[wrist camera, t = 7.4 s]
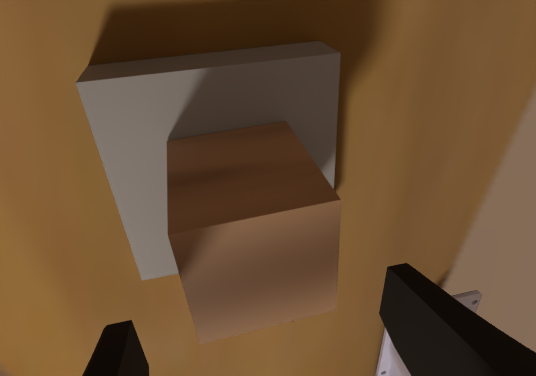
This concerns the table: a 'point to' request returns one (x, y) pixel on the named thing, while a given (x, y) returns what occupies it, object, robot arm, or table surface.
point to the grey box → (200, 121)
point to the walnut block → (251, 229)
